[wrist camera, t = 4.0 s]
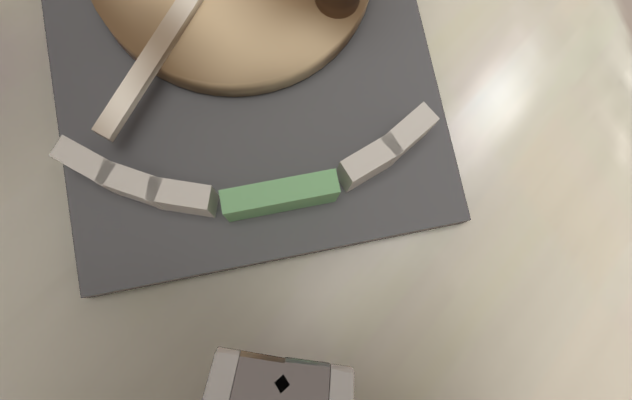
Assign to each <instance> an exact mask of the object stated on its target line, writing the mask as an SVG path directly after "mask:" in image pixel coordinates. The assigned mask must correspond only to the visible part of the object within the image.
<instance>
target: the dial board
mask: <svg viewBox="0 0 632 400" xmlns="http://www.w3.org/2000/svg"><path fill="white" fill-rule="evenodd" d="M41 2H42V9H43V17H44V24H45V32H46V39H47V47H48V54H49V62H50V69H51V77H52V84H53V92H54V100H55V107H56V115H57V122H58V130H59V137H60V138H59V140H58V141H57V143H56V144H55V146H54V147H53V149H52V151H51V152H50V154H49V155H48V156H50V157H52V158H53V159H55V160H57V161H59V162H60V163H62V164H63V167H64V175H65V182H66V190H67V197H68V205H69V212H70V220H71V227H72V235H73V242H74V250H75V258H76V265H77V273H78V280H79V288H80V295H81V298H90V297H96V296H101V295H106V294H111V293H116V292H121V291H126V290H131V289H136V288H141V287H146V286H151V285H156V284H161V283H166V282H171V281H176V280H181V279H186V278H191V277H196V276H201V275H206V274H211V273H216V272H221V271H226V270H231V269H236V268H241V267H246V266H251V265H256V264H261V263H266V262H271V261H276V260H281V259H286V258H291V257H296V256H301V255H306V254H311V253H316V252H321V251H326V250H331V249H336V248H341V247H346V246H351V245H356V244H361V243H366V242H371V241H376V240H381V239H386V238H391V237H396V236H401V235H406V234H411V233H416V232H421V231H426V230H431V229H436V228H441V227H446V226H451V225H456V224H461V223H464V222H467V221H469V220H471V218H470V214H469V210H468V206H467V202H466V198H465V194H464V190H463V186H462V182H461V178H460V174H459V170H458V166H457V162H456V158H455V154H454V150H453V146H452V142H451V138H450V134H449V130H448V126H447V122H446V118H445V114H444V110H443V106H442V102H441V98H440V94H439V90H438V86H437V82H436V78H435V74H434V70H433V66H432V62H431V58H430V54H429V50H428V45H427V41H426V37H425V33H424V29H423V25H422V21H421V17H420V13H419V9H418V5H417V1H416V0H369V2H368V5H367V8H366V11H365V14H364V16H363V18H362V20H361V22H360V24H359V26H358V29H357V30H356V32H355V33H354V35H353V36H352V38H351V39H350V41H349V42H348V44H347V45H346V46H345V47H344V48H343V49H342V50H341V51H340V53H339V54H338V55H337V56H336V57H335V58H334V59H332V60H331V61H330V62H329V63H328V64H327V65H325V66H324V67H323V68H322V69H320V70H319V71H317V72H316V73H314V74H313V75H311V76H310V77H308V78H306V79H304V80H302V81H300V82H298V83H296V84H294V85H292V86H289V87H286V88H283V89H280V90H277V91H274V92H270V93H265V94H260V95H254V96H241V97H227V96H214V95H208V94H203V93H197V92H194V91H191V90H187V89H184V88H181V87H178V86H176V85H174V84H172V83H169V82H167V81H165V80H163V79H161V78H159V77H158V76H155V77H154V79H153V81H152V82H151V84H150V85H149V87H148V88H147V90H146V92H145V93H144V95H143V96H142V98H141V99H140V101H139V102H138V104H137V106H136V107H135V109H134V110H133V112H132V113H131V115H130V116H129V118H128V120H127V121H126V123H125V124H124V126H123V127H122V129H121V130H120V132H119V134H118V135H117V137H116V138H115V140H114V141H113V142H111V141H109V140H107V139H106V138H104V137H102V136H100V135H98V134H97V133H95V132H94V131H93V130H91V129H92V127H93V126H94V124H95V123H96V121H97V119H98V118H99V116H100V115H101V113H102V112H103V110H104V109H105V107H106V106H107V104H108V103H109V101H110V100H111V98H112V96H113V95H114V93H115V92H116V90H117V89H118V87H119V86H120V84H121V83H122V81H123V80H124V78H125V77H126V75H127V74H128V72H129V70H130V69H131V67H132V66H133V64H134V63H135V60H134V59H133V58H132V57H131V56H130V55H129V54H128V53H127V52H126V51H125V50H124V49H123V48H122V46H121V45H120V44H119V43H118V42H117V40H116V39H115V37H114V36H113V34H112V33H111V31H110V30H109V29H108V27H107V26H106V24H105V23H104V21H103V20H102V18H101V17H100V15H99V14H98V12H97V11H96V9H95V7H94V5H93V3H92V1H91V0H41Z"/></svg>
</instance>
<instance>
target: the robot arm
mask: <svg viewBox="0 0 632 400" xmlns="http://www.w3.org/2000/svg"><path fill="white" fill-rule="evenodd" d="M202 400H354V369H353V367H350V366H342V365H335V364H330V363H326V362H318V361H311V360H303V359H296V358H288V357H285V358H282V357H276V356H270V355H265V354H259V353H253V352H248V351H242V350H236V349H230V348H223V347H218V348H217V350H216V352H215V354H214V358H213V362H212V365H211V369H210V373H209V376H208V380H207V384H206V387H205V391H204V394H203V398H202Z"/></svg>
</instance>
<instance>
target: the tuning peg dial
mask: <svg viewBox="0 0 632 400" xmlns="http://www.w3.org/2000/svg"><path fill="white" fill-rule="evenodd" d="M91 1H92V3H93V5H94V7H95V9H96V11H97V12H98V14H99V15H100V17H101V18H102V20H103V21H104V23H105V24H106V26H107V27H108V29H109V30H110V31H111V33H112V34H113V36H114V37H115V39H116V40H117V42H118V43H119V44H120V45H121V46H122V48H123V49H124V50H125V51H126V52H127V53H128V54H129V55H130V56H131V57H132V58H133V59H134V60H135V63H134V64H133V66H132V67H131V69H130V70H129V72H128V74H127V75H126V77H125V78H124V80H123V81H122V83H121V84H120V86H119V87H118V89H117V90H116V92H115V93H114V95H113V96H112V98H111V100H110V101H109V103H108V104H107V106H106V107H105V109H104V110H103V112H102V113H101V115H100V116H99V118H98V119H97V121H96V123H95V124H94V126H93V127H92V129H91V130H93V131H94V132H95V133H97V134H98V135H100V136H102V137H104V138H106V139H107V140H109V141H111V142H113V141H114V140H115V138H116V137H117V135H118V134H119V132H120V130H121V129H122V127H123V126H124V124H125V123H126V121H127V120H128V118H129V116H130V115H131V113H132V112H133V110H134V109H135V107H136V106H137V104H138V102H139V101H140V99H141V98H142V96H143V95H144V93H145V92H146V90H147V88H148V87H149V85H150V84H151V82H152V81H153V79H154V77H155V76H158V77H159V78H161V79H163V80H165V81H167V82H169V83H172V84H174V85H176V86H178V87H181V88H184V89H187V90H191V91H194V92H197V93H203V94H208V95H214V96H227V97H241V96H254V95H260V94H265V93H270V92H274V91H277V90H280V89H283V88H286V87H289V86H292V85H294V84H296V83H298V82H300V81H302V80H304V79H306V78H308V77H310V76H311V75H313V74H314V73H316V72H317V71H319V70H320V69H322V68H323V67H324V66H325V65H327V64H328V63H329V62H330V61H331V60H332V59H334V58H335V57H336V56H337V55H338V54H339V53H340V51H341V50H342V49H343V48H344V47H345V46H346V45H347V44H348V42H349V41H350V39H351V38H352V36H353V35H354V33H355V32H356V30H357V29H358V26H359V24H360V22H361V20H362V18H363V16H364V14H365V11H366V8H367V5H368V2H369V0H91Z"/></svg>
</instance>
